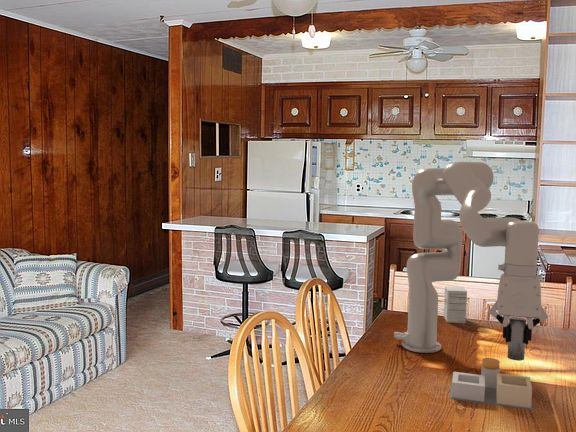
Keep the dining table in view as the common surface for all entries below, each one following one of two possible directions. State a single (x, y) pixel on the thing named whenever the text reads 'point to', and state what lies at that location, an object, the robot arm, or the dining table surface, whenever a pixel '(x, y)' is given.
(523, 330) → the grey rounded cylinder
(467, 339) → the dining table surface
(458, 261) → the robot arm
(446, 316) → the supplement box
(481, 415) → the dining table surface
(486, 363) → the button
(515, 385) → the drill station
